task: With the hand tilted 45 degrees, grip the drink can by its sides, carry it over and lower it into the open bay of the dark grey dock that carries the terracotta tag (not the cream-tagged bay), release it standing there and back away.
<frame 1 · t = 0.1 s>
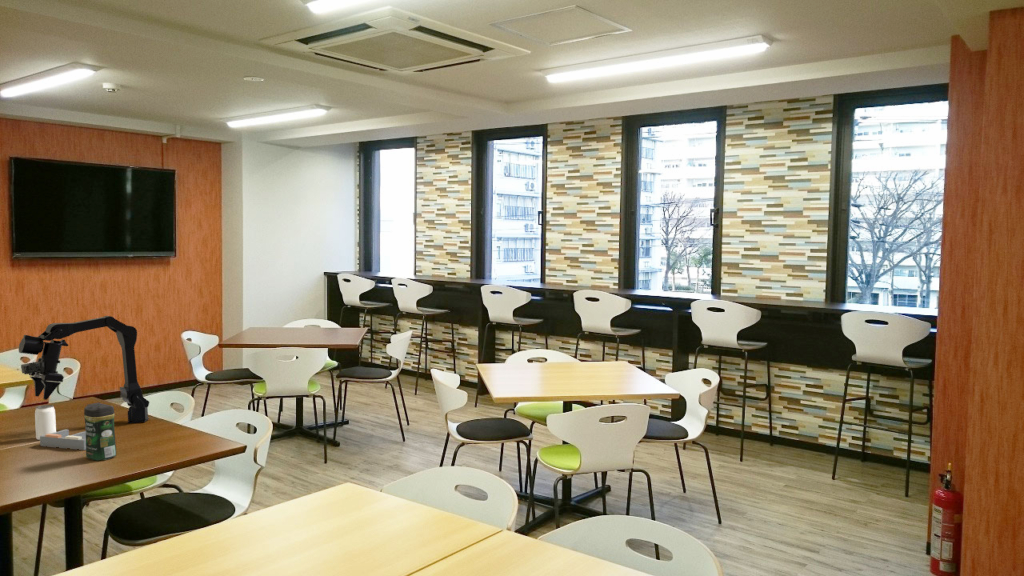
hand: (40, 398, 277), 15 cm above the table, tool pointing down, fingers open, 9 cm apart
dock: (66, 442, 271), on the table
can: (46, 438, 278), on the table
coffee jar: (101, 458, 252), on the table
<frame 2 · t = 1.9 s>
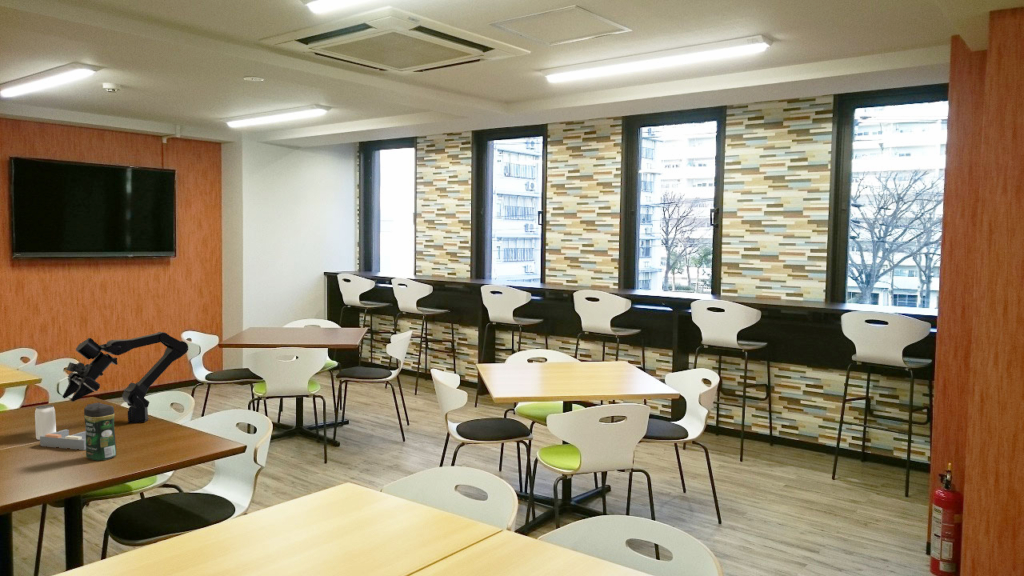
hand: (67, 399, 283), 13 cm above the table, tool tilted 45°, fingers open, 9 cm apart
nothing on the table moved.
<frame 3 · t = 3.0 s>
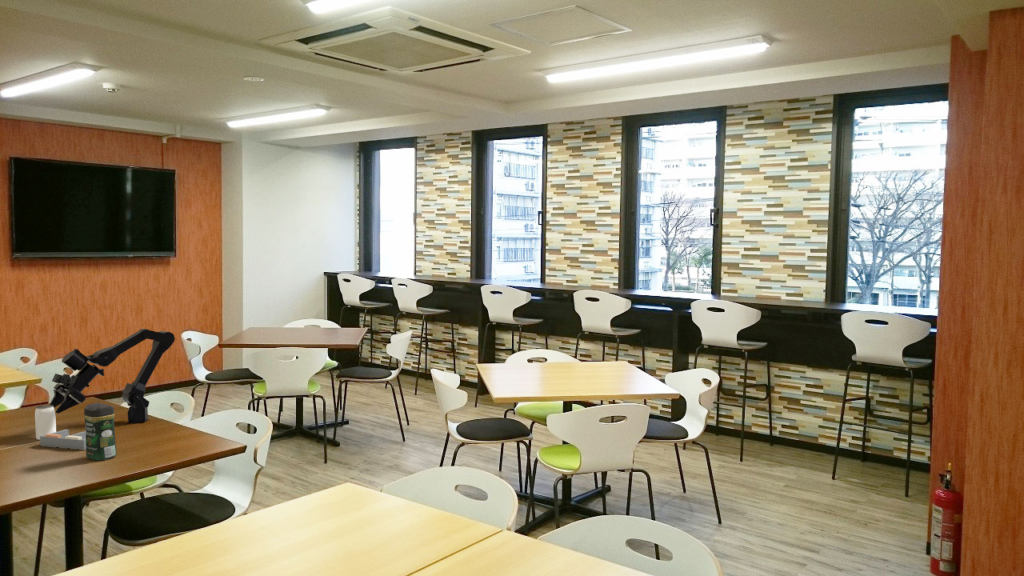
hand: (52, 411, 280), 10 cm above the table, tool tilted 45°, fingers open, 9 cm apart
nothing on the table moved.
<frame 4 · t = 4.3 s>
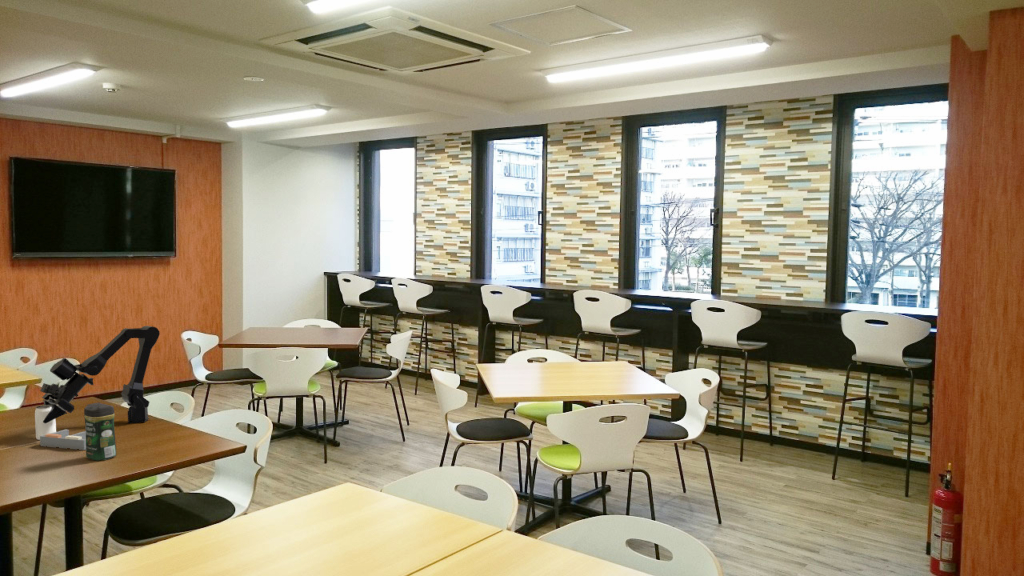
hand: (41, 421, 277), 7 cm above the table, tool tilted 45°, fingers closed on can, 6 cm apart
can: (46, 438, 278), on the table, touching gripper
everything else where it was.
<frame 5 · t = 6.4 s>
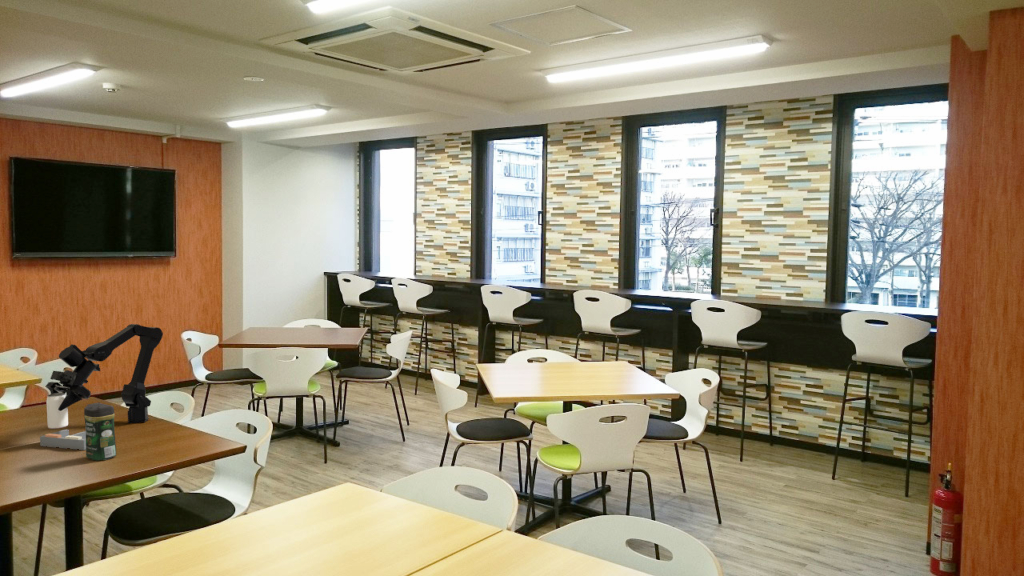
hand: (53, 409, 271), 12 cm above the table, tool tilted 45°, fingers closed on can, 6 cm apart
can: (58, 427, 273), point 5 cm above the table, touching gripper
everything else where it was.
when the fingers open (8 cm above the table, at t = 8.2 s): can drops 1 cm, resting in dock.
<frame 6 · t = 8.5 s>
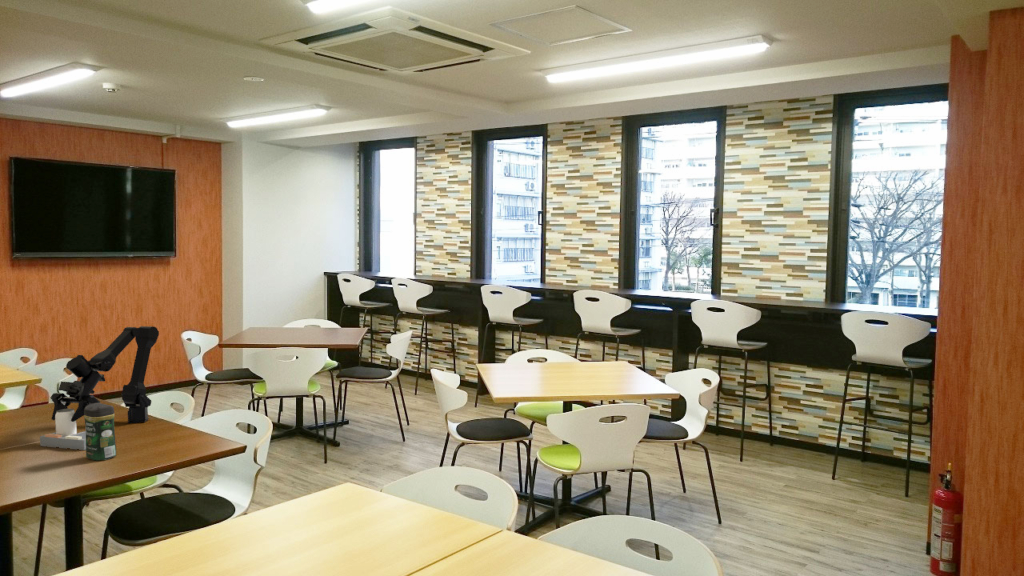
hand: (62, 420, 270), 9 cm above the table, tool tilted 45°, fingers open, 9 cm apart
can: (67, 443, 271), resting in dock
everything else where it was.
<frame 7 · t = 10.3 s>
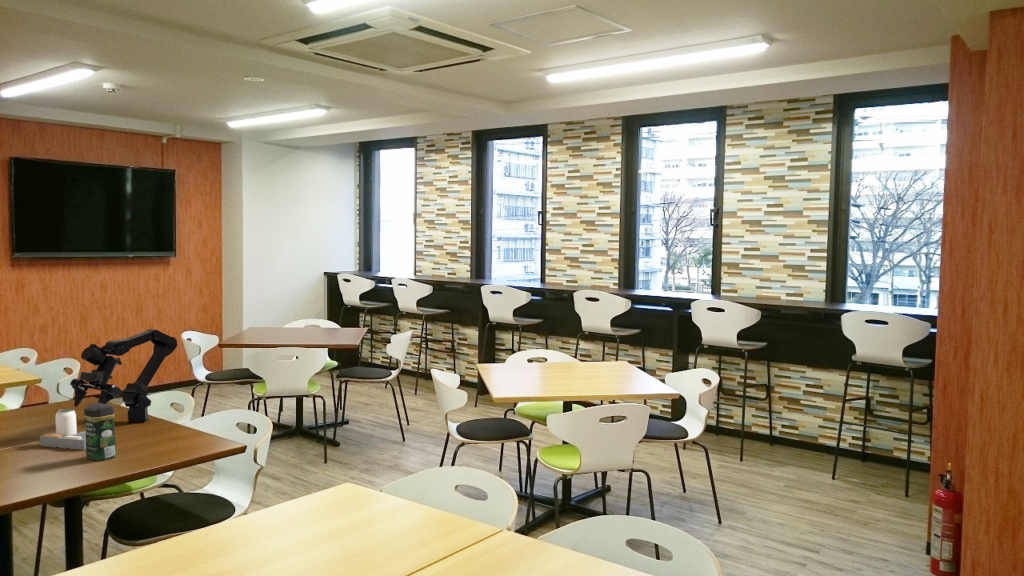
hand: (85, 408, 281), 10 cm above the table, tool tilted 35°, fingers open, 9 cm apart
nothing on the table moved.
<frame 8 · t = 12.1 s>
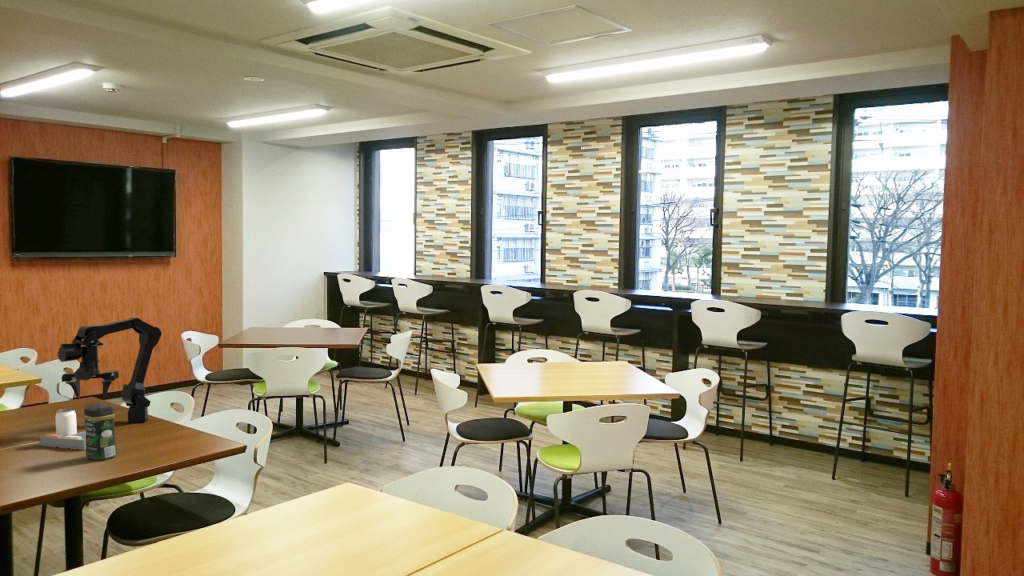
hand: (91, 398, 287), 13 cm above the table, tool pointing down, fingers open, 9 cm apart
nothing on the table moved.
at the end: can inside the target area on the dock (0.1 cm from its centre), point 0.0 cm above the dock's base; can tilted 0°; the gripper is holding nothing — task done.
